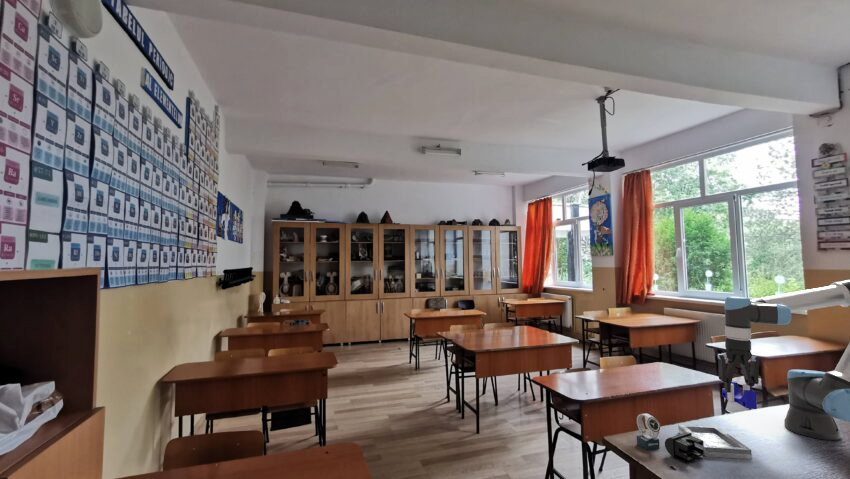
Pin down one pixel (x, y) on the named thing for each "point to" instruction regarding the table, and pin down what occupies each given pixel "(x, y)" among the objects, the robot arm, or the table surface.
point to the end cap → (684, 448)
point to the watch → (647, 439)
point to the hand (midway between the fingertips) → (738, 401)
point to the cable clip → (742, 397)
